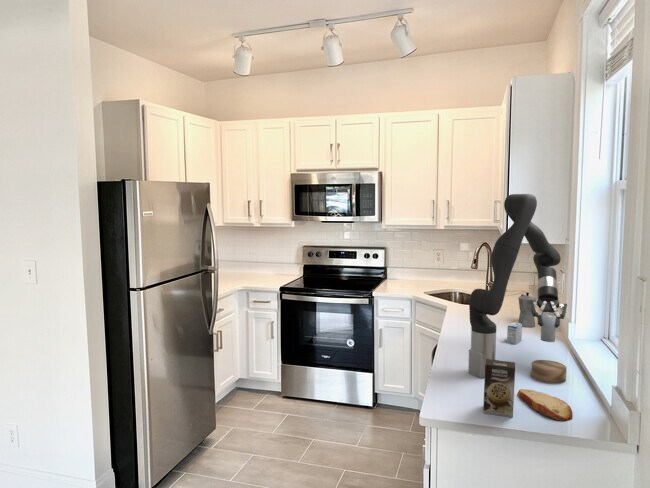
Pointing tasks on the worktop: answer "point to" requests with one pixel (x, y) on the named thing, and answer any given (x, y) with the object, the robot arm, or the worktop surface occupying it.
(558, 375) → the walnut round
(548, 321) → the dome-topped grey cylinder
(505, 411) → the coffee box
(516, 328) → the medicine box
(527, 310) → the coffeepot
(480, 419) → the worktop surface
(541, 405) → the bread slice
